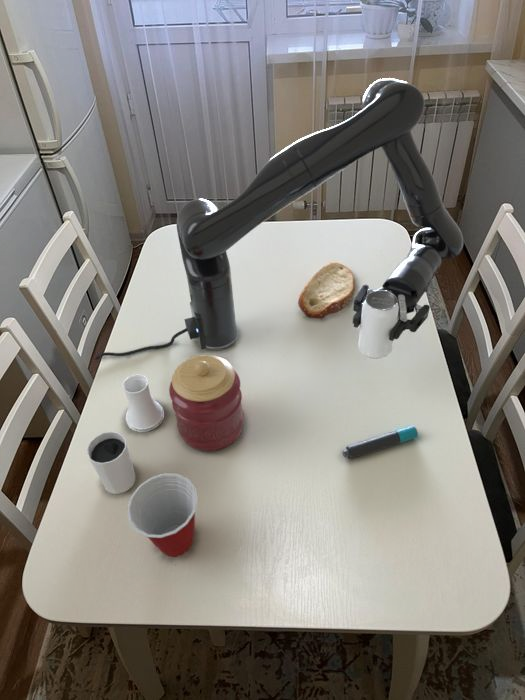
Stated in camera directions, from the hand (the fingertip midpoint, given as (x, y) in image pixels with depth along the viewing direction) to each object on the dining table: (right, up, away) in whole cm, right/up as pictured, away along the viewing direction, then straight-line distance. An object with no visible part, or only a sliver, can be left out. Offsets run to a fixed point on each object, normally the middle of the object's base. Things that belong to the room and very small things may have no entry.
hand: (373, 330), depth 99 cm
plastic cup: (-35, -35, -9) cm, 51 cm away
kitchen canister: (-30, -19, +8) cm, 36 cm away
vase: (-44, -17, +10) cm, 48 cm away
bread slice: (-4, +11, +37) cm, 39 cm away
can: (+2, -3, +6) cm, 7 cm away
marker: (+1, -21, +3) cm, 21 cm away
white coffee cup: (-46, -28, 0) cm, 54 cm away
